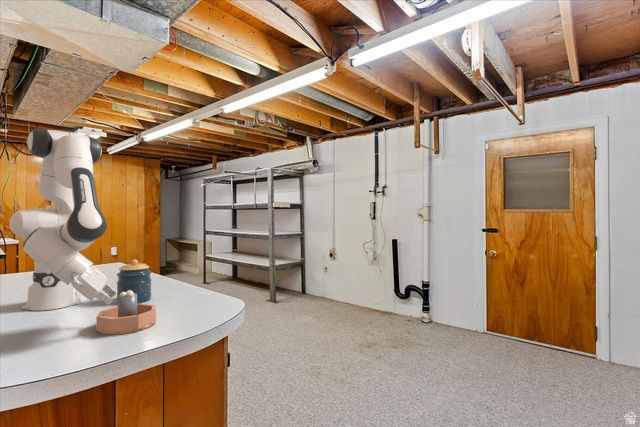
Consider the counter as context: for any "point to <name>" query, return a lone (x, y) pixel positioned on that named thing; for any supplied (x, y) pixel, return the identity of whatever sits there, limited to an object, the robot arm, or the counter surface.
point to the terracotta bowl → (125, 320)
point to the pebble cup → (127, 304)
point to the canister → (135, 280)
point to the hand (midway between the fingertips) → (112, 298)
